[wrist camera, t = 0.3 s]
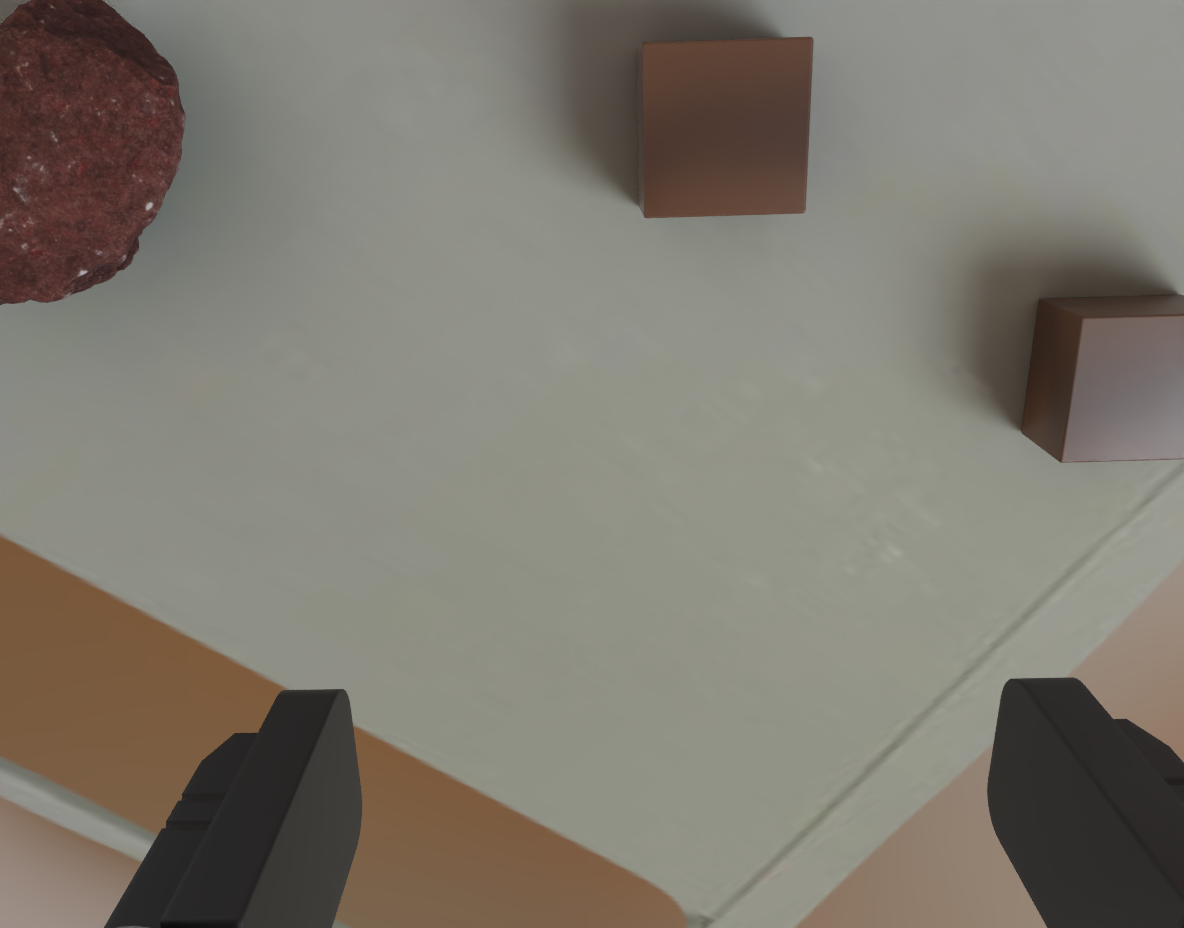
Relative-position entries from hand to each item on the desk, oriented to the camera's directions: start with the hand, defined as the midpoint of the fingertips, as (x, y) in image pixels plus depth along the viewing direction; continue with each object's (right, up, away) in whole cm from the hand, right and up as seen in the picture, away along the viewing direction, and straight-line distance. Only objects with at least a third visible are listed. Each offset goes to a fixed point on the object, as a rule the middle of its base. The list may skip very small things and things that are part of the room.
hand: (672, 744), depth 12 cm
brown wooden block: (+3, +15, +20) cm, 25 cm away
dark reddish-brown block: (+17, +7, +23) cm, 29 cm away
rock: (-18, +9, +19) cm, 27 cm away
